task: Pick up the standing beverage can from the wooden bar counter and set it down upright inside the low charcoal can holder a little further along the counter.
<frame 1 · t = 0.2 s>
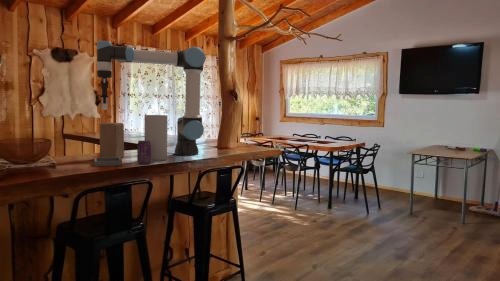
hand: (104, 109, 221), 28 cm above the table, tool pointing down, fingers open, 13 cm apart
beverage can: (144, 164, 212), on the table
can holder: (108, 164, 208), on the table
wooden block: (112, 158, 228), on the table
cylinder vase: (155, 159, 227), on the table
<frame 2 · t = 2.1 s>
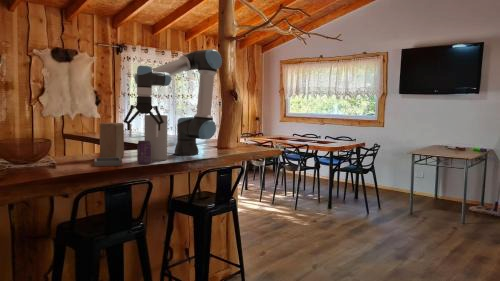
hand: (143, 136, 211), 14 cm above the table, tool pointing down, fingers open, 13 cm apart
nothing on the table moved.
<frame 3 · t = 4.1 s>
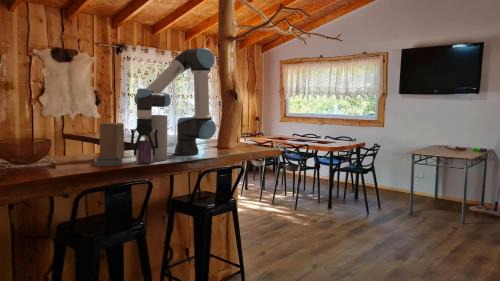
hand: (144, 161, 212), 1 cm above the table, tool pointing down, fingers closed on beverage can, 7 cm apart
beverage can: (144, 163, 212), on the table, touching gripper
everything else where it was.
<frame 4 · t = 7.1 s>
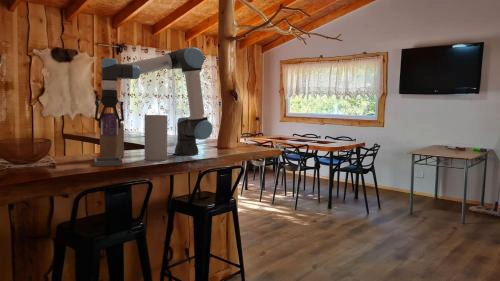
hand: (109, 134, 206), 15 cm above the table, tool pointing down, fingers closed on beverage can, 7 cm apart
beverage can: (109, 136, 206), point 14 cm above the table, touching gripper
everything else where it was.
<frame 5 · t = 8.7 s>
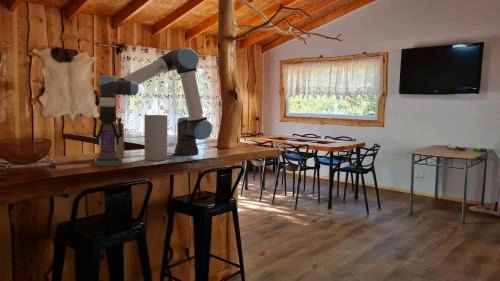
hand: (107, 150, 207), 7 cm above the table, tool pointing down, fingers closed on beverage can, 7 cm apart
beverage can: (107, 153, 207), point 6 cm above the table, touching gripper
everything else where it was.
when the fingers open (4 cm above the table, at t = 10.0 s): beverage can drops 2 cm, resting on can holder.
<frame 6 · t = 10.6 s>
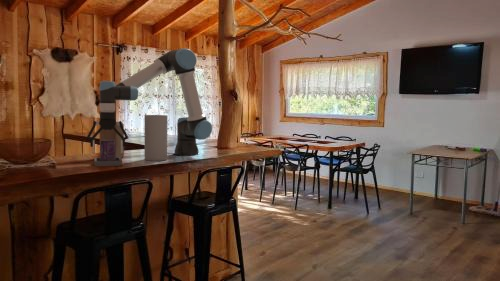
hand: (107, 153, 207), 6 cm above the table, tool pointing down, fingers open, 13 cm apart
beverage can: (108, 163, 207), resting on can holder
everything else where it was.
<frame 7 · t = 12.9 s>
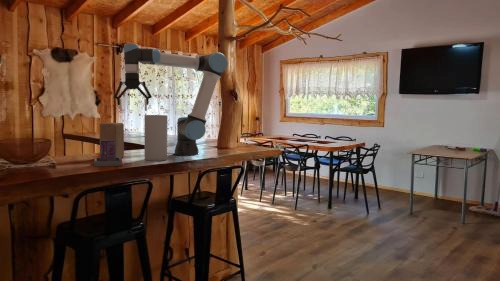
hand: (133, 111, 225), 27 cm above the table, tool pointing down, fingers open, 13 cm apart
nothing on the table moved.
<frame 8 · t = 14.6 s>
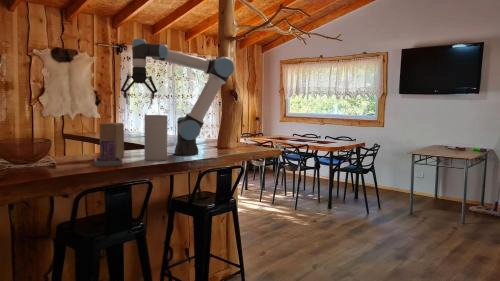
hand: (139, 104, 231), 31 cm above the table, tool pointing down, fingers open, 13 cm apart
nothing on the table moved.
at the end: beverage can 0.1 cm off-centre on the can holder, point 0.4 cm above the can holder's base; beverage can tilted 0°; the gripper is holding nothing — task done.
